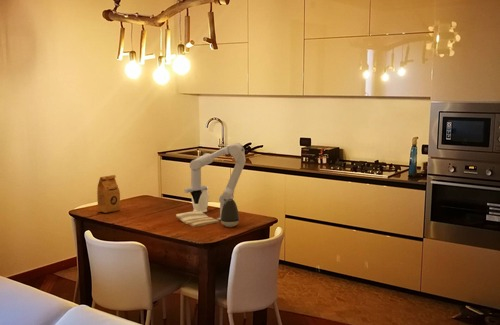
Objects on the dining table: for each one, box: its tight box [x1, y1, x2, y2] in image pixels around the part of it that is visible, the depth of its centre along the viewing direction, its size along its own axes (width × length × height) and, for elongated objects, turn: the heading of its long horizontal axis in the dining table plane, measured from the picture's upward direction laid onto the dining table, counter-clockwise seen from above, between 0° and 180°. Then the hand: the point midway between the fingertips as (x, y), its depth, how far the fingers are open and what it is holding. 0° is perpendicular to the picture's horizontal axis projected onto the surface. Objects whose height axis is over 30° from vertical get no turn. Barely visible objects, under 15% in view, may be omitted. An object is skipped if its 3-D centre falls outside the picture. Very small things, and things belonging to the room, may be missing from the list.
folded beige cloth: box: [185, 216, 220, 228], centre depth 290 cm, size 9×16×1 cm, turn 130°
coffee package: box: [96, 174, 122, 214], centre depth 314 cm, size 10×12×22 cm
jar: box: [191, 185, 210, 213], centre depth 316 cm, size 11×10×15 cm
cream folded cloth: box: [175, 210, 209, 224], centre depth 297 cm, size 9×16×1 cm, turn 131°
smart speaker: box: [220, 198, 240, 228], centre depth 283 cm, size 10×10×15 cm
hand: (196, 203), depth 300 cm, fingers closed
